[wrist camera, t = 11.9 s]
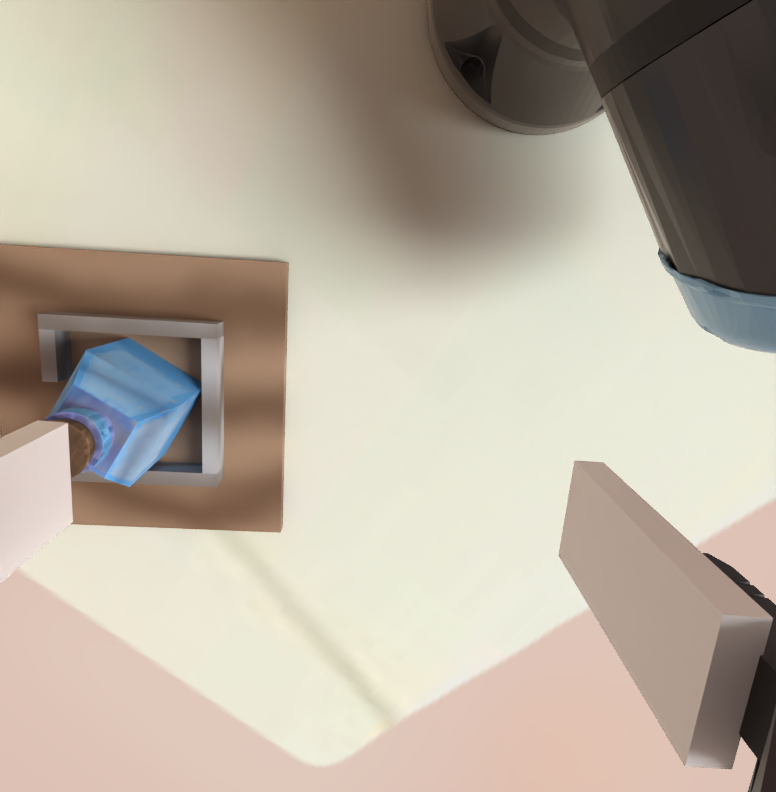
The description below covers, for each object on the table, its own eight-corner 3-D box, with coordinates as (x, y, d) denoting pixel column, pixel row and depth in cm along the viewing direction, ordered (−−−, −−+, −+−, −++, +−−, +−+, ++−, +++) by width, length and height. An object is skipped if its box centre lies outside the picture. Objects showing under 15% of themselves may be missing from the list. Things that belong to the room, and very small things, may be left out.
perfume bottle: (128, 337, 39) (28, 366, 28) (207, 385, 40) (142, 433, 29) (86, 409, 40) (-27, 467, 29) (164, 454, 41) (84, 528, 30)
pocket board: (-7, 243, 39) (-37, 241, 36) (288, 262, 40) (282, 262, 37) (17, 515, 43) (-9, 534, 40) (282, 526, 44) (276, 544, 41)
